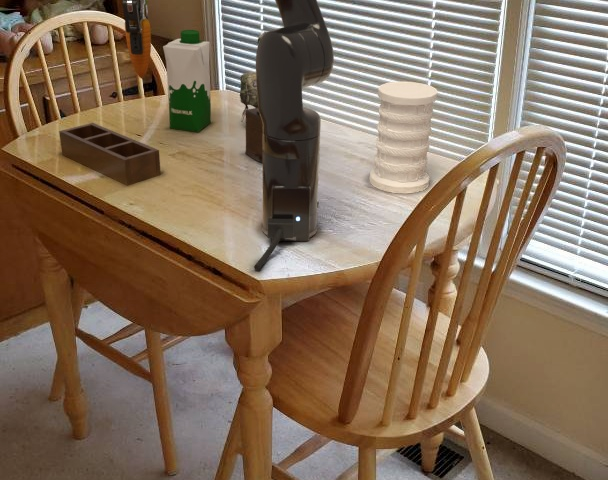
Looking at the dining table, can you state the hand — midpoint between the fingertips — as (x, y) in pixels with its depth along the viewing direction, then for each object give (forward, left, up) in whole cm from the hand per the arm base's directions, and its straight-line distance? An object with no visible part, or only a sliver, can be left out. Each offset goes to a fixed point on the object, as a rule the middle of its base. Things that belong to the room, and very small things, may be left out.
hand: (139, 50), depth 156 cm
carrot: (0, 0, -6) cm, 6 cm away
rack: (-6, +7, -21) cm, 23 cm away
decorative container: (-14, -50, -21) cm, 56 cm away
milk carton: (+18, -7, -21) cm, 29 cm away
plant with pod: (+19, -23, -21) cm, 37 cm away
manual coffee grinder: (-3, -28, -21) cm, 35 cm away
